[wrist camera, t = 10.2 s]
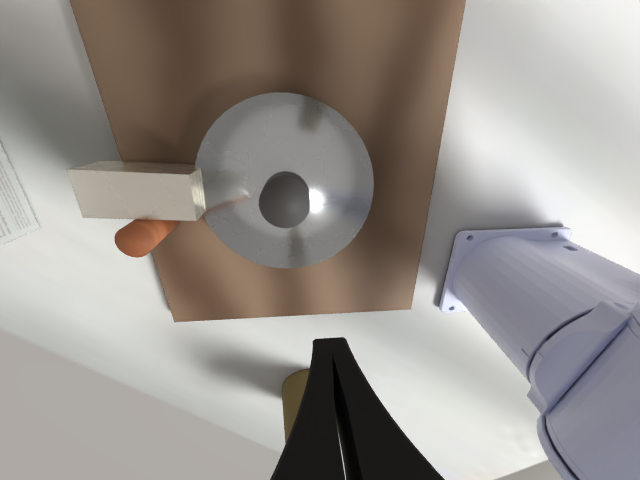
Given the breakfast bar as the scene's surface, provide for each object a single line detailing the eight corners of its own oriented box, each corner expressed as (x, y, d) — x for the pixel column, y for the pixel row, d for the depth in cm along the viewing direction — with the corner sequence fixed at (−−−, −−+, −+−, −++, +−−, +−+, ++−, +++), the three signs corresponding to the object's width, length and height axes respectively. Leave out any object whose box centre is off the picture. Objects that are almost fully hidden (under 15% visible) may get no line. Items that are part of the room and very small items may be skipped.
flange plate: (382, 100, 16) (397, 97, 13) (359, 262, 20) (367, 283, 18) (79, 79, 14) (31, 71, 12) (131, 258, 19) (105, 281, 16)
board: (460, -22, 14) (533, -83, 10) (406, 301, 24) (431, 345, 19) (73, -30, 13) (-44, -103, 9) (179, 313, 23) (149, 363, 18)
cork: (275, 402, 29) (262, 553, 19) (290, 364, 26) (284, 515, 17) (327, 409, 30) (341, 555, 20) (346, 374, 28) (372, 519, 18)
